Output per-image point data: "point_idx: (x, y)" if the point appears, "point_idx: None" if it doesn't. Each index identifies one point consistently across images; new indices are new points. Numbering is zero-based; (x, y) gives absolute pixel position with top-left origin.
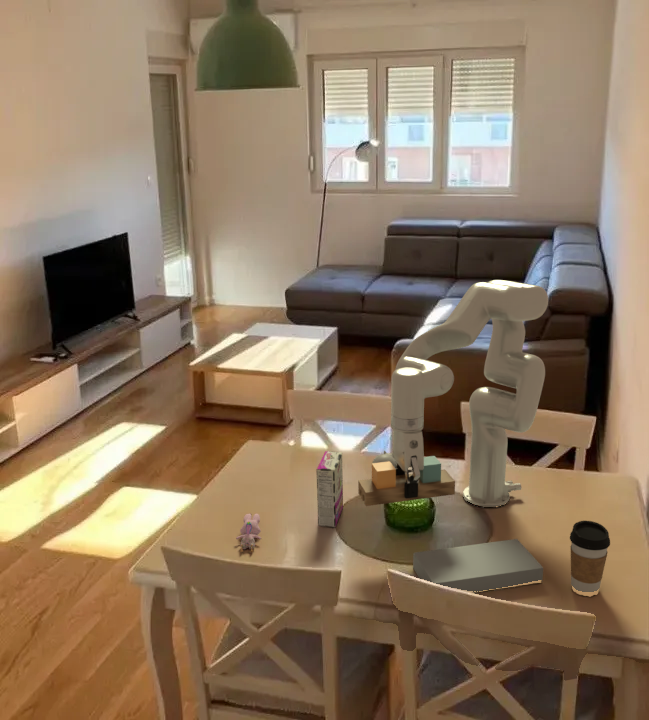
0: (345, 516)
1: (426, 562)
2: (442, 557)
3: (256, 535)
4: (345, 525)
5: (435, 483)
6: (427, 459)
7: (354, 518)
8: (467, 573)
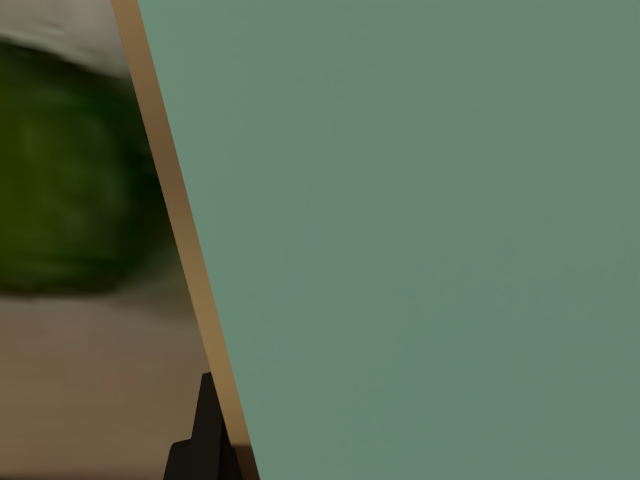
0: (35, 461)
1: None
2: None
3: None
4: (121, 458)
5: None
6: (564, 286)
7: (52, 426)
8: None
